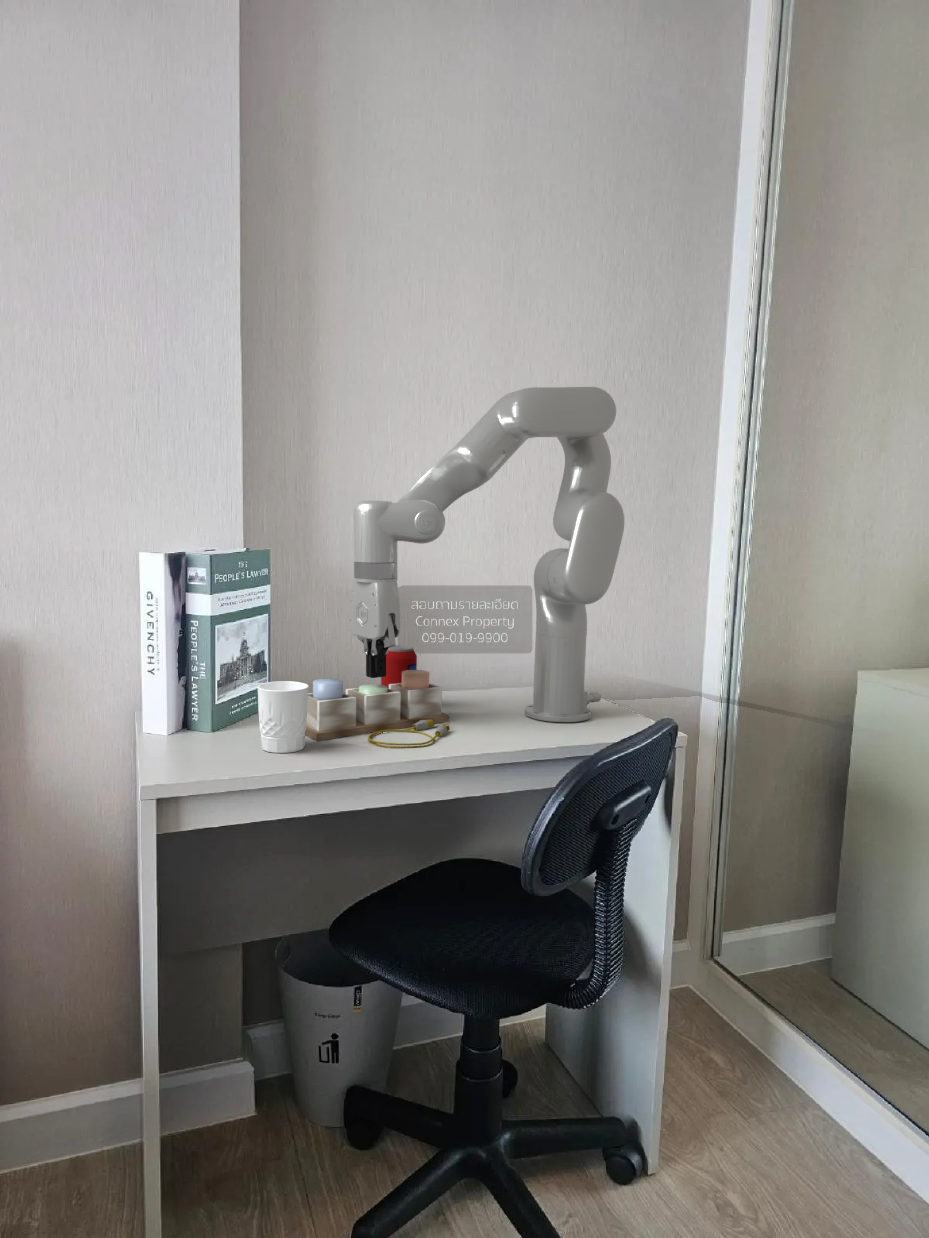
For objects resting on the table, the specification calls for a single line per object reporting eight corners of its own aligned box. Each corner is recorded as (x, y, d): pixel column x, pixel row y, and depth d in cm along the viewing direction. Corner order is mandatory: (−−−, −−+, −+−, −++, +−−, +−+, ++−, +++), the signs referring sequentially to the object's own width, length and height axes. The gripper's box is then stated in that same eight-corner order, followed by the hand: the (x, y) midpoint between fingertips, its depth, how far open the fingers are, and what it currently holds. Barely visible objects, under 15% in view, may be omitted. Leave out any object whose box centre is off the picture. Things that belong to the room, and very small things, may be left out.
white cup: (308, 741, 147) (309, 681, 146) (307, 754, 139) (307, 690, 138) (259, 741, 146) (259, 681, 144) (255, 754, 138) (255, 690, 137)
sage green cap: (377, 710, 162) (377, 683, 161) (392, 715, 158) (392, 688, 158) (353, 713, 159) (353, 685, 158) (367, 719, 155) (368, 690, 154)
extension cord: (469, 744, 150) (470, 732, 149) (383, 754, 142) (384, 742, 142) (435, 728, 160) (435, 717, 160) (353, 736, 152) (353, 725, 152)
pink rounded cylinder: (418, 695, 167) (419, 668, 167) (434, 700, 163) (434, 673, 163) (396, 698, 164) (396, 671, 164) (411, 703, 160) (411, 675, 160)
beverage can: (420, 711, 170) (422, 649, 169) (386, 714, 168) (387, 650, 166) (409, 704, 177) (410, 644, 175) (376, 706, 174) (377, 645, 173)
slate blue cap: (333, 705, 156) (333, 677, 156) (347, 711, 152) (348, 682, 152) (307, 709, 153) (307, 680, 153) (321, 714, 149) (321, 685, 149)
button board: (420, 711, 171) (421, 679, 170) (448, 721, 163) (449, 687, 163) (291, 729, 154) (291, 693, 153) (316, 740, 147) (316, 703, 146)
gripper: (335, 570, 159) (336, 672, 162) (380, 576, 147) (380, 686, 150) (371, 569, 164) (372, 668, 166) (418, 574, 152) (417, 681, 154)
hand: (376, 676), depth 158 cm, fingers closed
